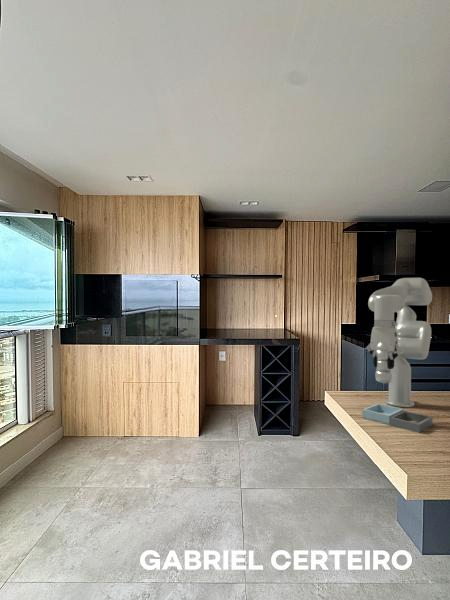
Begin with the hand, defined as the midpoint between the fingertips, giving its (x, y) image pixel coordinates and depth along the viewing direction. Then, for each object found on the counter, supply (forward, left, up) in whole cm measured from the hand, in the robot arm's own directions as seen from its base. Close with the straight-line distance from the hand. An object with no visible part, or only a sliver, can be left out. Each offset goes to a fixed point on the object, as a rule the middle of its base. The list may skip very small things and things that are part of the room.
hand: (383, 367), depth 147 cm
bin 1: (0, 0, -21) cm, 21 cm away
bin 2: (0, +11, -21) cm, 24 cm away
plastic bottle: (0, 0, -7) cm, 7 cm away
